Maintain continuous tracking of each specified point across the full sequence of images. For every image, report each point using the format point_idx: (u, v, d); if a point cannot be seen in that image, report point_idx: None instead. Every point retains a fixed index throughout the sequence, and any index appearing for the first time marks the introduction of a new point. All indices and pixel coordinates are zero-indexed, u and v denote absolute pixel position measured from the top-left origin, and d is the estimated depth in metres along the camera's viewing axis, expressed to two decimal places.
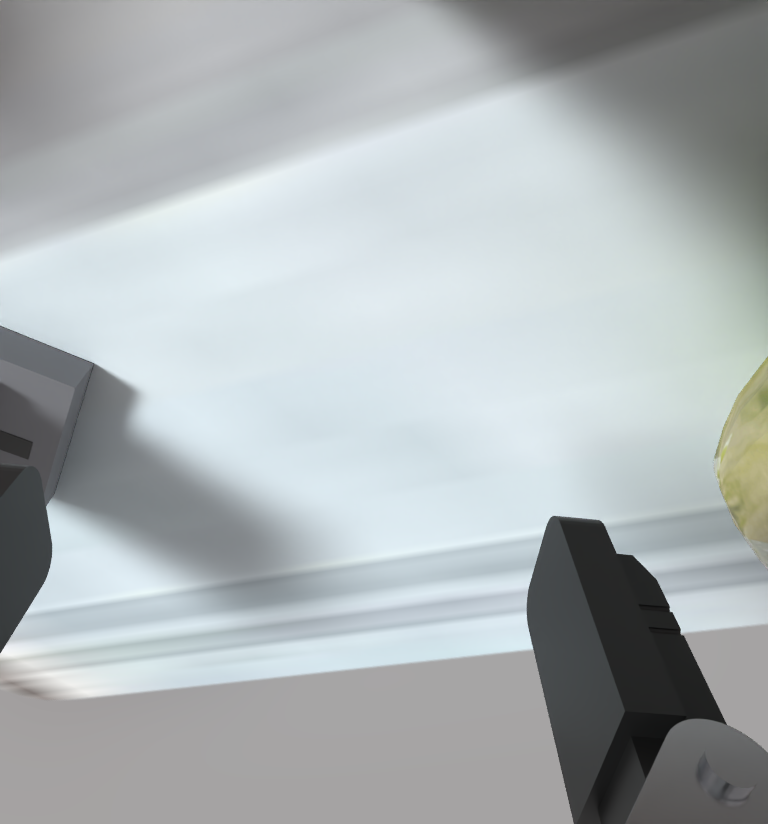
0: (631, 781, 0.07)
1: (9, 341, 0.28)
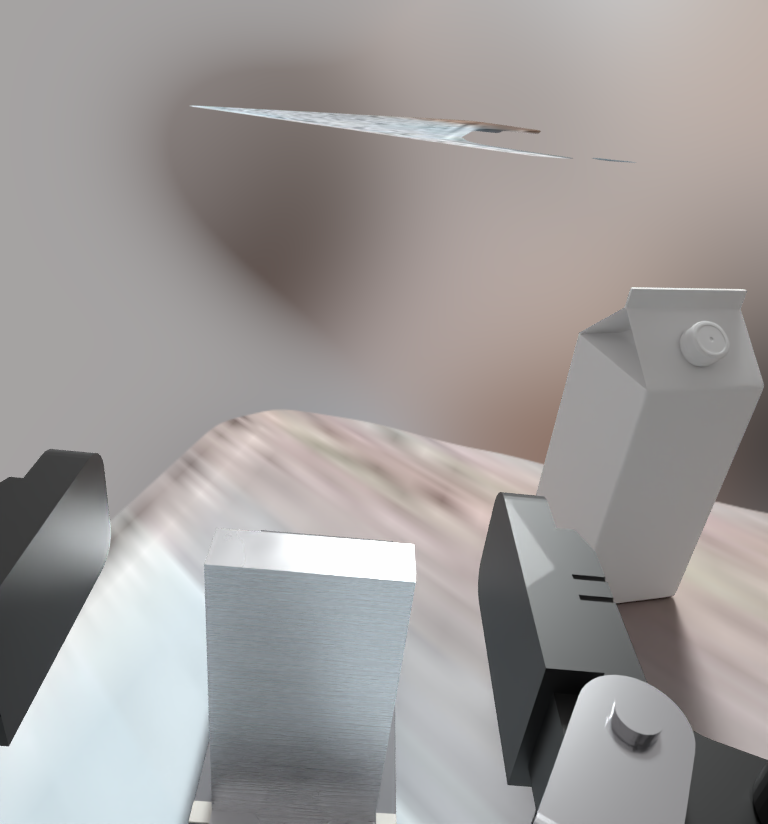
0: (552, 735, 0.08)
1: None
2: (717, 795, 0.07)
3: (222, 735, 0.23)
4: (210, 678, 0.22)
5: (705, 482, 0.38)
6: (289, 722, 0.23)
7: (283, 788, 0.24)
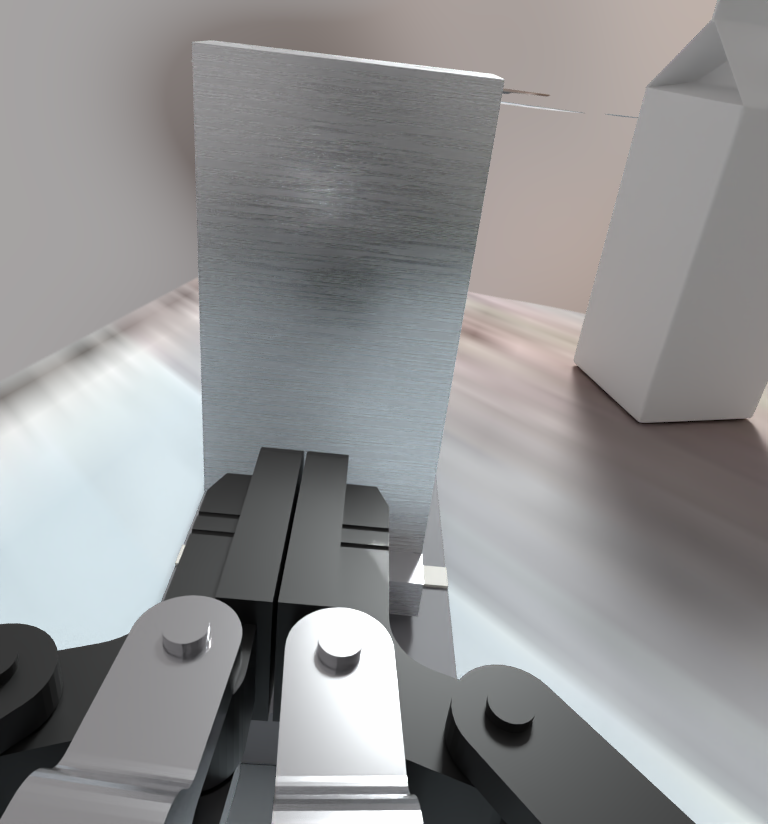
0: None
1: None
2: (414, 716, 0.07)
3: (219, 395, 0.17)
4: (202, 283, 0.15)
5: None
6: (312, 370, 0.16)
7: None
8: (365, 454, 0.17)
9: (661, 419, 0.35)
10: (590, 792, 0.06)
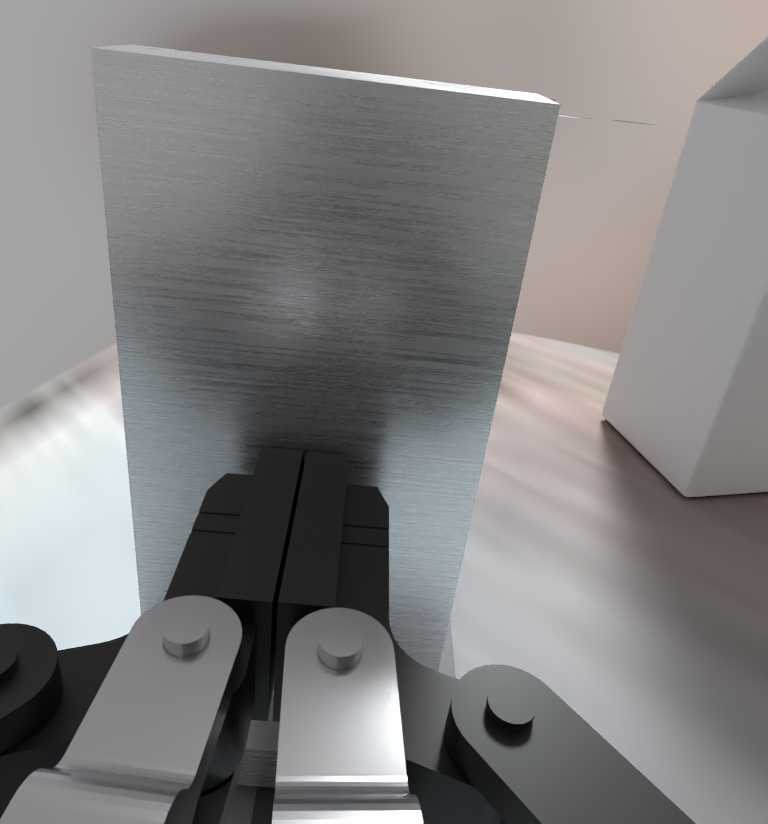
0: None
1: None
2: (414, 716, 0.07)
3: (157, 525, 0.12)
4: (125, 384, 0.11)
5: None
6: None
7: None
8: None
9: (710, 493, 0.30)
10: (590, 792, 0.06)
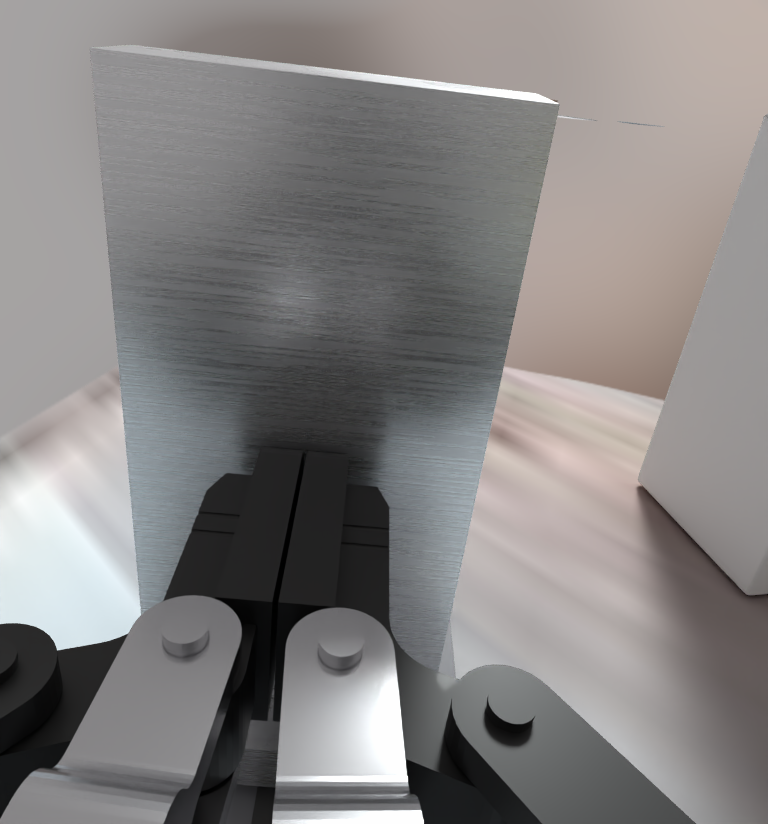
0: None
1: None
2: (414, 716, 0.07)
3: (157, 525, 0.12)
4: (125, 384, 0.11)
5: None
6: None
7: None
8: None
9: None
10: (590, 792, 0.06)
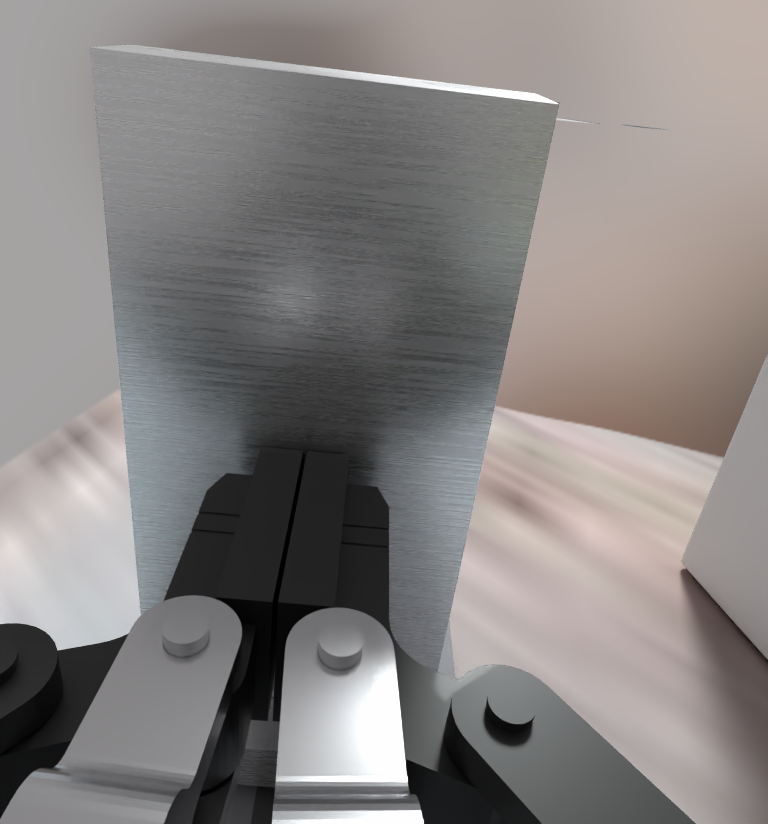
0: None
1: None
2: (414, 716, 0.07)
3: (157, 524, 0.12)
4: (125, 384, 0.11)
5: None
6: None
7: None
8: None
9: None
10: (590, 792, 0.06)
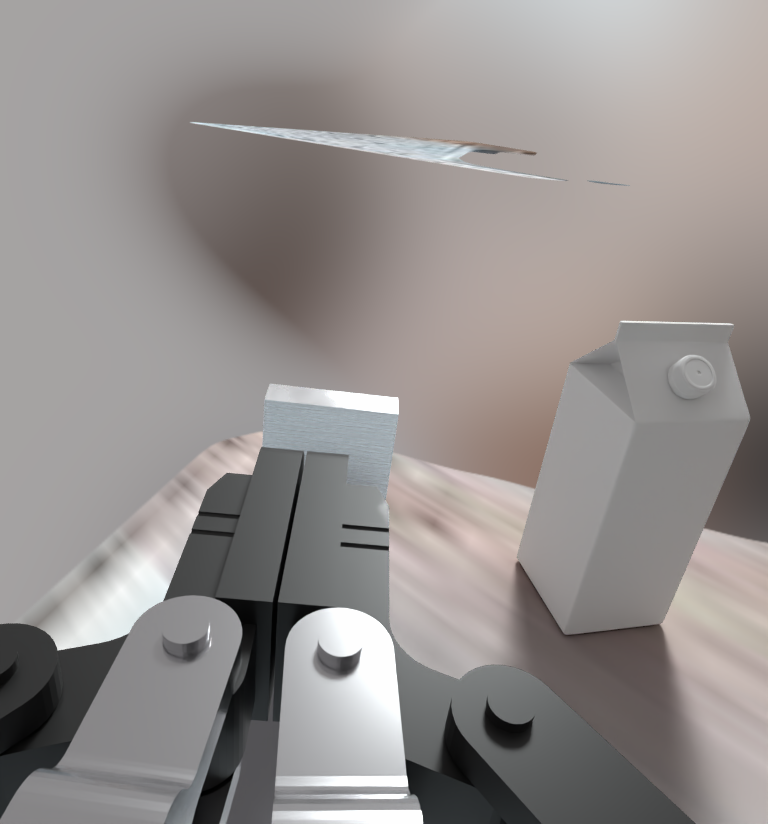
0: None
1: None
2: (414, 715, 0.07)
3: None
4: None
5: (692, 512, 0.39)
6: None
7: None
8: None
9: (583, 631, 0.42)
10: (590, 792, 0.06)
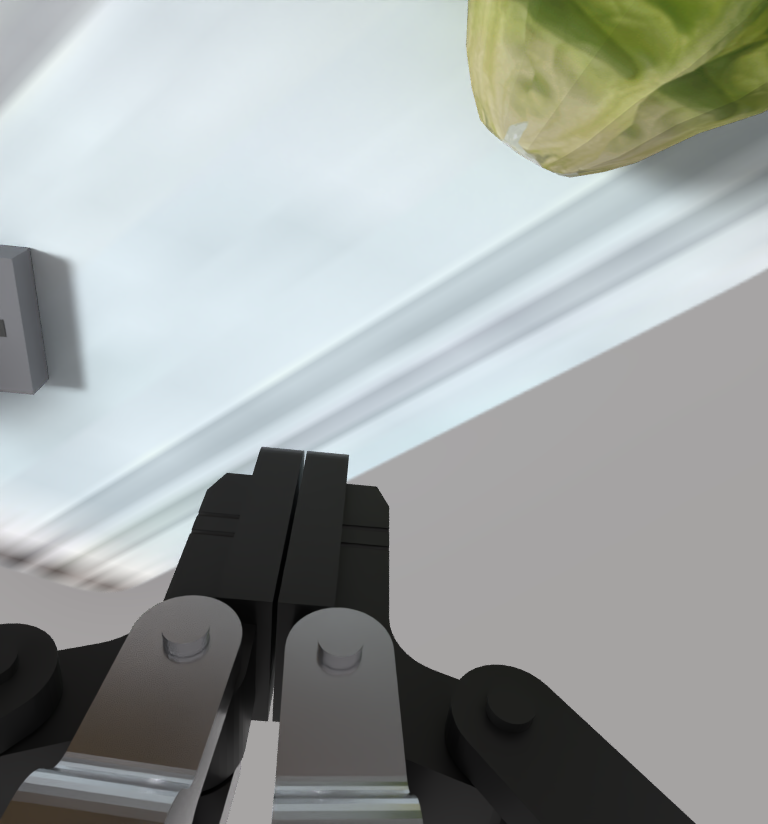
0: None
1: None
2: (414, 716, 0.07)
3: None
4: None
5: None
6: None
7: None
8: None
9: None
10: (590, 792, 0.06)
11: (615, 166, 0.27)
